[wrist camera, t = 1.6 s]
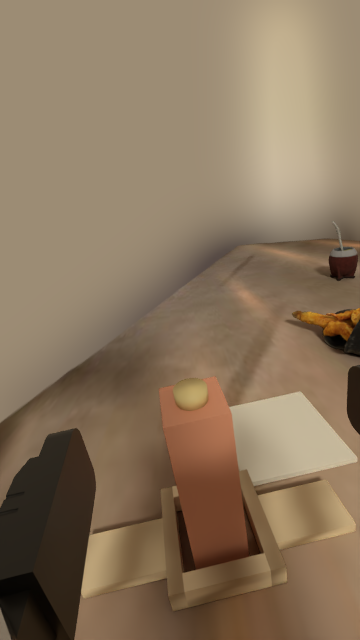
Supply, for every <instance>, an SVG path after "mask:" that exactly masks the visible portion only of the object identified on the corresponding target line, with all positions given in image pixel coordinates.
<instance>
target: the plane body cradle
mask: <svg viewBox="0 0 360 640" xmlns="http://www.w3.org/2000/svg"><path fill="white" fill-rule="evenodd" d="M239 477H240V485H241V493H242V501H243V504H244V507H245V510H246V513H247V516H248V519H249V521H250V524H251V527H252V530H253V533H254V536H255V539H256V542H257V544H258V547H259V550H260V553H261V554H258V555H254V556H250V557H246V558H242V559H238V560H234V561H230V562H226V563H222V564H218V565H214V566H210V567H206V568H202V569H198V570H194V571H190V572H186V573H184V566H183V558H182V550H181V541H180V533H179V525H178V517H177V511H181V510H182V507H181V503H180V499H179V494H178V490H177V486H172V487H168V488H163V489H160V492H161V505H162V518H160V519H156V520H152V521H147V522H143V523H139V524H135V525H131V526H126V527H122V528H118V529H114V530H109V531H105V532H101V533H97V534H92V535H89V540H88V547H87V554H86V561H85V568H84V575H83V582H82V589H81V594H82V596H83V598H84V599H85V598H89V597H93V596H97V595H101V594H105V593H109V592H113V591H117V590H121V589H125V588H129V587H133V586H137V585H141V584H145V583H149V582H153V581H157V580H161V579H165V578H167V587H168V597H169V600H170V604H171V607H172V610H173V611H177V610H181V609H185V608H189V607H193V606H197V605H201V604H204V603H208V602H212V601H216V600H220V599H224V598H228V597H232V596H236V595H240V594H244V593H248V592H252V591H256V590H260V589H263V588H267V587H271V586H275V585H279V584H283V583H287V571H286V564H285V562H284V560H283V557H282V555H281V552H280V550H282V549H286V548H291V547H295V546H299V545H303V544H307V543H311V542H315V541H319V540H323V539H327V538H331V537H335V536H339V535H343V534H347V533H351V532H355V528H356V523H355V522H354V520H353V519H352V517H351V516H350V514H349V513H348V511H347V510H346V508H345V507H344V505H343V504H342V502H341V501H340V499H339V498H338V496H337V495H336V493H335V492H334V491H333V489H332V488H331V486H330V485H329V483H328V482H327V480H326V479H325V480H321V481H317V482H312V483H308V484H304V485H300V486H295V487H291V488H287V489H283V490H279V491H274V492H270V493H266V494H262V495H257V493H256V490H255V488H254V485H253V483H252V481H251V478H250V476H249V473H248V471H247V469H246V470H241V471H239Z"/></svg>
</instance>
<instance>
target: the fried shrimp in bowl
mask: <svg viewBox="0 0 360 640" xmlns="http://www.w3.org/2000/svg"><path fill="white" fill-rule="evenodd" d="M292 315H293V317H295V318H297V319H299V320H301V321H302V322H307V323H308V324H314V325H319V326H320V327H322V328H323V331H322V334H323V338H324V340H325V342H326V343H327V344H328V345H329V346H331V347H333V348H338V349H344V352H345V353H354V354H357V355H360V308H358V309H357V310H356V309H347V310H342V311H339V312H337V313H335V314H333V313H330V314H329V313H328V314H326V315H321V314H318V313H313V312H301V311H295V312H293V313H292Z"/></svg>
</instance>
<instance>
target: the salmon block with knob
mask: <svg viewBox="0 0 360 640" xmlns="http://www.w3.org/2000/svg"><path fill="white" fill-rule="evenodd" d="M159 395H160V404H161V414H162V423H163V430H164V434H165V439H166V443H167V447H168V452H169V456H170V460H171V464H172V469H173V473H174V477H175V482H176V486H177V490H178V494H179V499H180V503H181V507H182V512H183V516H184V520H185V524H186V529H187V533H188V537H189V542H190V546H191V550H192V554H193V559H194V563H195V567H196V570H198V569H202V568H206V567H210V566H214V565H218V564H222V563H226V562H230V561H234V560H238V559H242V558H246V557H249V549H248V541H247V533H246V525H245V517H244V509H243V501H242V493H241V485H240V477H239V469H238V461H237V453H236V445H235V437H234V429H233V420H232V413H231V411H230V408H229V406H228V404H227V402H226V399H225V397H224V395H223V392H222V390H221V388H220V386H219V383H218V381H217V379H216V377H210V378H206V379H198V378H189V379H184V380H182V381H180V382H178V383H177V384H176V385H173V386H168V387H163V388H159Z"/></svg>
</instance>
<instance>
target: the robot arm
mask: <svg viewBox="0 0 360 640" xmlns="http://www.w3.org/2000/svg"><path fill="white" fill-rule="evenodd" d="M347 414H348V418H349V420H350V422H351V424H352V426H353V428H354V429H355V430H356V431H357V432H358V433H359V434H360V365H357V366H353V367H351V368H350V369H349V372H348V391H347ZM95 491H96V481H95V474H94V469H93V466H92V463H91V461H90V458H89V455H88V452H87V450H86V447H85V444H84V441H83V439H82V436H81V433H80V431H79V430H78V429H77V428H75V429H70V430H66V431H61V432H57V433H53V434H49V435H48V436H47V437H46V439H45V442H44V444H43V447H42V450H41V452H40V455H39V457H34V458H30V459H29V460H28V461H27V463H26V464H25V465H24V466H23V467H22V468H21V470H20V471H19V472H18V473H17V474H16V476H15V477H14V479H13V481H12V484H11V486H10V488H9V490H8V492H7V495H6V500H4V501H3V504H2V506H1V508H0V640H74V637H75V630H76V623H77V616H78V610H79V603H80V596H81V589H82V582H83V575H84V568H85V561H86V554H87V547H88V540H89V533H90V526H91V519H92V513H93V506H94V499H95Z"/></svg>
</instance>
